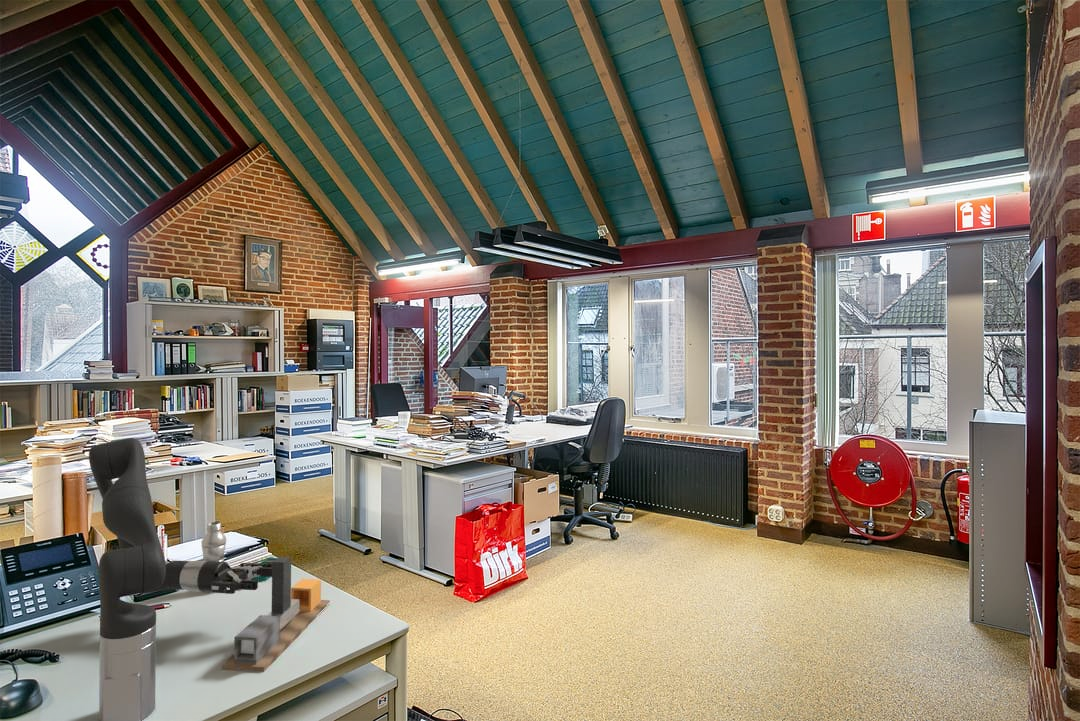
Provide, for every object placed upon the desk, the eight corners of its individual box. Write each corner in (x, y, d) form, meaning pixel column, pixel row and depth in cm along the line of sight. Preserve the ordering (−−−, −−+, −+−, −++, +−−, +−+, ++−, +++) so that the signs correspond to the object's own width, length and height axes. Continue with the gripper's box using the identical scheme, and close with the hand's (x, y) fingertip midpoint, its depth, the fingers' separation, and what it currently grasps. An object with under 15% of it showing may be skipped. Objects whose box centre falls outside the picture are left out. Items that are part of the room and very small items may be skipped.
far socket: (310, 611, 163) (311, 588, 163) (290, 610, 164) (291, 587, 164) (320, 601, 170) (321, 579, 170) (301, 600, 170) (302, 578, 170)
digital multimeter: (241, 582, 186) (242, 573, 186) (266, 565, 201) (266, 556, 201) (264, 583, 185) (264, 574, 185) (287, 566, 200) (287, 557, 200)
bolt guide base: (263, 671, 135) (264, 640, 135) (221, 669, 136) (221, 638, 135) (329, 603, 171) (330, 579, 171) (295, 602, 171) (296, 577, 171)
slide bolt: (254, 654, 137) (255, 583, 137) (240, 653, 137) (241, 582, 137) (299, 612, 159) (300, 551, 159) (286, 611, 159) (287, 550, 159)
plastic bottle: (201, 587, 180) (201, 521, 180) (226, 584, 183) (227, 519, 183) (199, 595, 174) (199, 527, 174) (225, 592, 177) (226, 525, 177)
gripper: (187, 571, 146) (251, 574, 145) (221, 552, 161) (279, 554, 160) (187, 602, 147) (250, 605, 146) (221, 579, 161) (279, 582, 160)
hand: (266, 578), depth 153 cm, fingers open, 8 cm apart
